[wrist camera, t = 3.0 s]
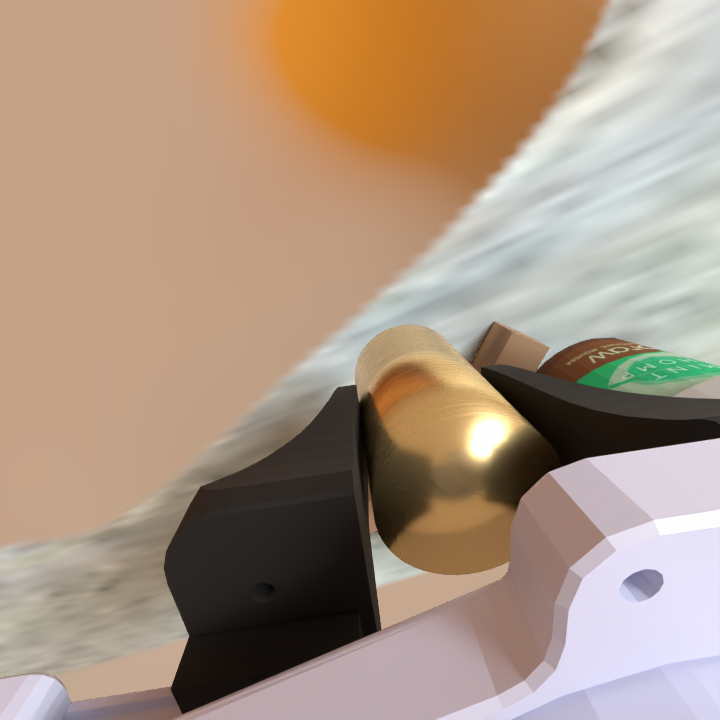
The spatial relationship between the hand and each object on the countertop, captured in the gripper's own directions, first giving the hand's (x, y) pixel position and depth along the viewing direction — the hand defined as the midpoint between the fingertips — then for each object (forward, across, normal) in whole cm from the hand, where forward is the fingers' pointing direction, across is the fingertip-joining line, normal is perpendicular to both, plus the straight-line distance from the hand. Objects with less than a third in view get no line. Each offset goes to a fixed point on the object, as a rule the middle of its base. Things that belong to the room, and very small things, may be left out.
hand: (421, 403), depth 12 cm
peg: (+2, 0, 0) cm, 2 cm away
